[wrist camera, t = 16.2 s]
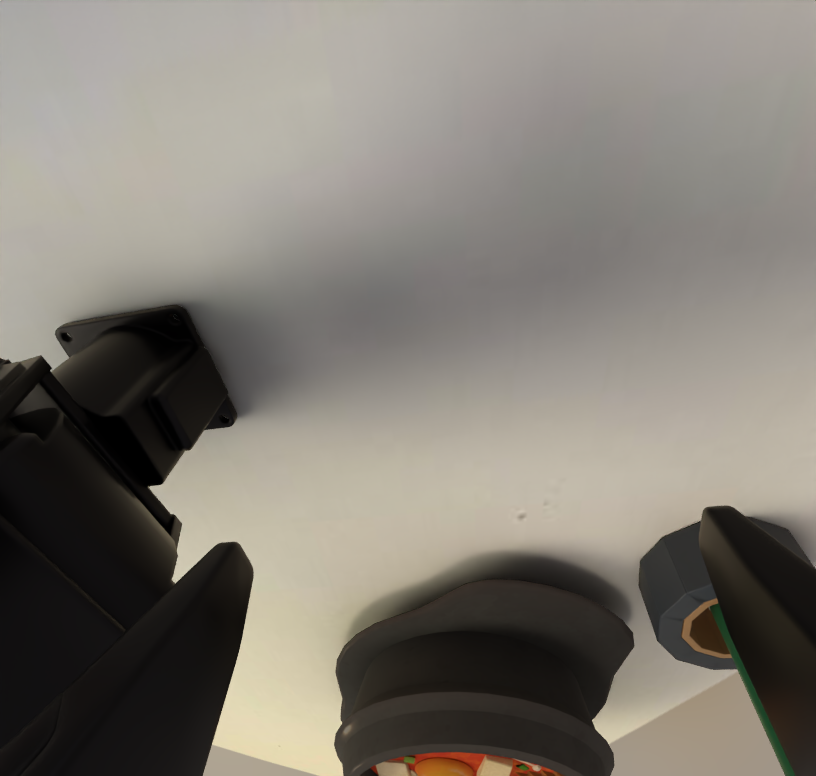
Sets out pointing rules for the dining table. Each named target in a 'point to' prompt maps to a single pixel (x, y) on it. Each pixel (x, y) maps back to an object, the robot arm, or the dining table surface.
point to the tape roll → (690, 596)
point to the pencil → (751, 691)
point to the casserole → (482, 685)
